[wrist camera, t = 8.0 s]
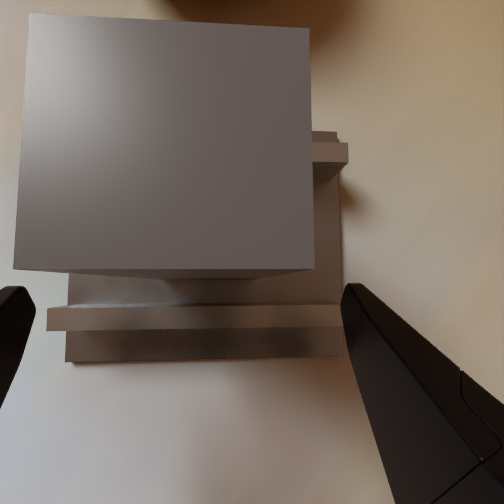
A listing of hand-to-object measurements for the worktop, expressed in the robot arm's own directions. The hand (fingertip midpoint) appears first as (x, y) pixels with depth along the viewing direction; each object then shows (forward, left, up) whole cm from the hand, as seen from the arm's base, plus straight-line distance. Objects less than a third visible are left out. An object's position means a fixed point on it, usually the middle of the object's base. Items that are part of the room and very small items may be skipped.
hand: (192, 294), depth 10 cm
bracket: (+3, 0, -9) cm, 10 cm away
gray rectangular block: (+3, 0, -9) cm, 9 cm away
